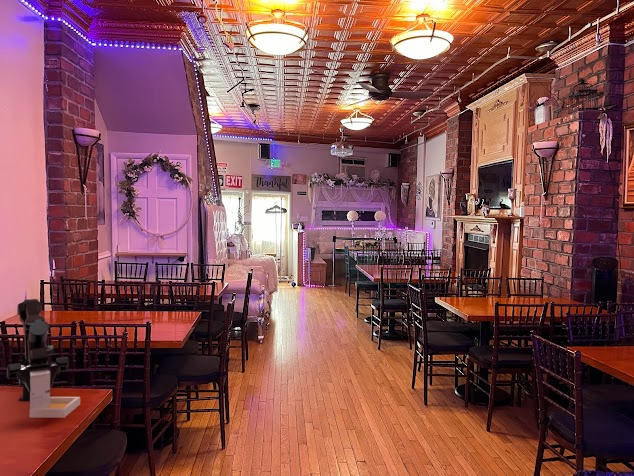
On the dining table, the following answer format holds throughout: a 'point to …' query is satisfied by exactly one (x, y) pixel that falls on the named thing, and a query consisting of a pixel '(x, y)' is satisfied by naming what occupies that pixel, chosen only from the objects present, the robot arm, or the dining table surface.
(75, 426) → the dining table surface
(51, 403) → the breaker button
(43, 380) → the skincare box
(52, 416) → the shallow white square tray
